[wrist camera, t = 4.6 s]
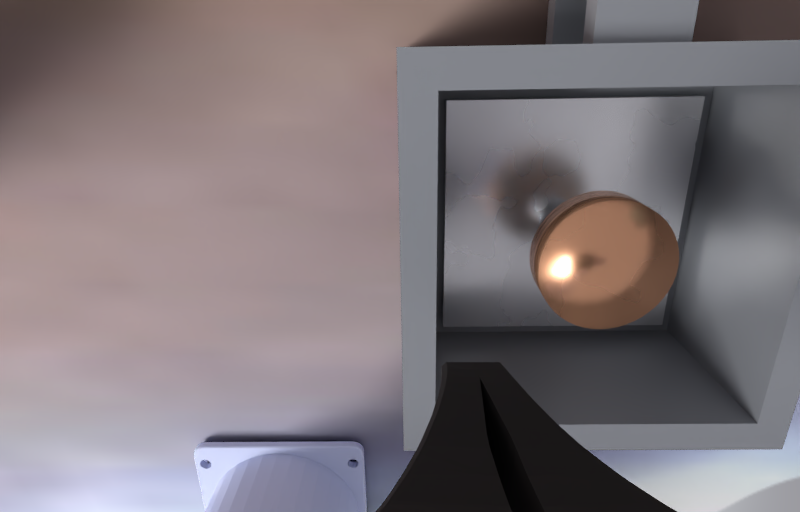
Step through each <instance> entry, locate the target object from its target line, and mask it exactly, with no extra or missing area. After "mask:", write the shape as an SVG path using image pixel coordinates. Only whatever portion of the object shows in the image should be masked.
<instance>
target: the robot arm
mask: <svg viewBox="0 0 800 512" xmlns="http://www.w3.org/2000/svg"><path fill="white" fill-rule="evenodd" d="M194 458H195V463H196V468H197V473H198V478H199V483H200V488H201V493H202V498H203V503H204V508H205V512H367V501H366V482H365V463H364V449H363V446H362V445H361V444H360V443H358V442H353V441H337V442H203V443H200V444H199V445H198V446H197V447H196V449H195V451H194ZM351 459H355V460H357V461H356V462H352V461H350V460H351ZM204 460H208V461H209V462H210V463H209V462H206V461H204ZM376 512H677V511H675V510H673V509H672V508H670V507H668V506H666V505H665V504H663V503H662V502H660V501H658V500H657V499H655V498H654V497H652V496H651V495H649V494H648V493H646V492H644V491H643V490H641V489H640V488H638V487H637V486H635V485H634V484H632V483H631V482H629V481H628V480H626V479H625V478H623V477H622V476H621V475H619V474H618V473H616V472H615V471H614V470H612V469H611V468H610V467H608V466H607V465H606V464H604V463H603V462H602V461H601V460H599V459H598V458H597V457H595V456H594V455H593V454H591V453H590V452H589V451H588V450H586V449H585V448H584V447H583V446H582V445H580V444H579V443H578V442H577V441H576V440H575V439H574V438H572V437H571V436H570V435H569V434H568V433H567V432H566V431H565V430H564V429H562V428H561V427H560V426H559V425H558V424H557V423H556V422H555V421H554V420H553V419H552V418H551V417H550V416H549V415H548V414H547V413H546V412H545V411H544V410H543V409H542V408H541V407H540V406H539V405H538V404H537V403H536V402H535V401H534V400H533V399H532V397H531V396H530V395H529V394H528V393H527V392H526V391H525V390H524V389H523V388H522V386H521V385H520V384H519V383H518V382H517V381H516V380H515V379H514V377H513V376H512V375H511V374H510V373H509V372H508V371H507V369H506V368H505V367H504V366H503V365H502V364H501V363H500V362H446V363H445V364H443V365H442V366H441V386H440V390H439V394H438V398H437V401H436V404H435V407H434V410H433V413H432V416H431V419H430V421H429V423H428V426H427V428H426V430H425V433H424V435H423V437H422V439H421V442H420V444H419V446H418V448H417V450H416V452H415V453H414V455H413V457H412V459H411V461H410V462H409V464H408V466H407V468H406V469H405V471H404V473H403V474H402V476H401V477H400V479H399V480H398V482H397V483H396V485H395V486H394V488H393V490H392V491H391V493H390V494H389V495H388V497H387V498H386V500H385V501H384V502H383V504H382V505H381V506H380V507H379V509H378V510H377V511H376Z"/></svg>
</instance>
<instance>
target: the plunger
mask: <svg viewBox="0 0 800 512" xmlns="http://www.w3.org/2000/svg"><path fill="white" fill-rule="evenodd" d="M704 99H705V96H698V95H681V96H620V97H559V98H498V99H445V168H444V237H443V306H442V321H443V327H487V326H580V327H584V328H590V329H610V328H615V327H619V326H623V325H662V323H663V318H664V312H665V307H666V302H667V296H668V291H669V290H670V288H671V286H672V284H673V282H674V279H675V277H676V274H677V270H678V265H679V248H678V238H679V232H680V227H681V222H682V216H683V211H684V206H685V200H686V195H687V190H688V184H689V179H690V174H691V168H692V163H693V158H694V152H695V147H696V142H697V136H698V131H699V126H700V120H701V115H702V110H703V104H704Z"/></svg>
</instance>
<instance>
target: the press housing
mask: <svg viewBox="0 0 800 512" xmlns="http://www.w3.org/2000/svg"><path fill="white" fill-rule="evenodd" d="M698 4H699V0H549V7H548V20H547V33H546V45H491V46H436V47H397V96H398V153H399V211H400V268H401V325H402V382H403V440H404V451H416V450H417V448H418V446H419V444H420V442H421V439H422V437H423V435H424V433H425V430H426V428H427V426H428V423H429V421H430V419H431V416H432V413H433V410H434V407H435V404H436V401H437V398H438V394H439V390H440V386H441V366H442V365H443V364H445V363H446V362H500V363H501V364H502V365H503V366H504V367H505V368H506V369H507V371H508V372H509V373H510V374H511V375H512V376H513V377H514V379H515V380H516V381H517V382H518V383H519V384H520V385H521V386H522V388H523V389H524V390H525V391H526V392H527V393H528V394H529V395H530V396H531V397H532V399H533V400H534V401H535V402H536V403H537V404H538V405H539V406H540V407H541V408H542V409H543V410H544V411H545V412H546V413H547V414H548V415H549V416H550V417H551V418H552V419H553V420H554V421H555V422H556V423H557V424H558V425H559V426H560V427H561V428H562V429H564V430H565V431H566V432H567V433H568V434H569V435H570V436H571V437H572V438H574V439H575V440H576V441H577V442H578V443H579V444H580V445H582V446H583V447H584V448H585V449H586V450H711V449H782V448H783V445H784V442H785V439H786V436H787V432H788V429H789V426H790V423H791V420H792V416H793V413H794V410H795V407H796V404H797V400H798V397H799V394H800V40H766V41H711V42H692V39H693V33H694V27H695V21H696V15H697V10H698ZM681 95H698V96H705V99H704V104H703V110H702V115H701V120H700V126H699V131H698V136H697V142H696V147H695V152H694V158H693V163H692V168H691V174H690V179H689V184H688V190H687V195H686V200H685V206H684V211H683V216H682V222H681V227H680V232H679V238H678V248H679V265H678V270H677V274H676V277H675V279H674V282H673V284H672V286H671V288H670V290H669V291H668V296H667V302H666V307H665V312H664V318H663V323H662V325H623V326H619V327H615V328H610V329H590V328H584V327H580V326H487V327H443V321H442V306H443V237H444V168H445V99H498V98H559V97H620V96H681Z"/></svg>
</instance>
